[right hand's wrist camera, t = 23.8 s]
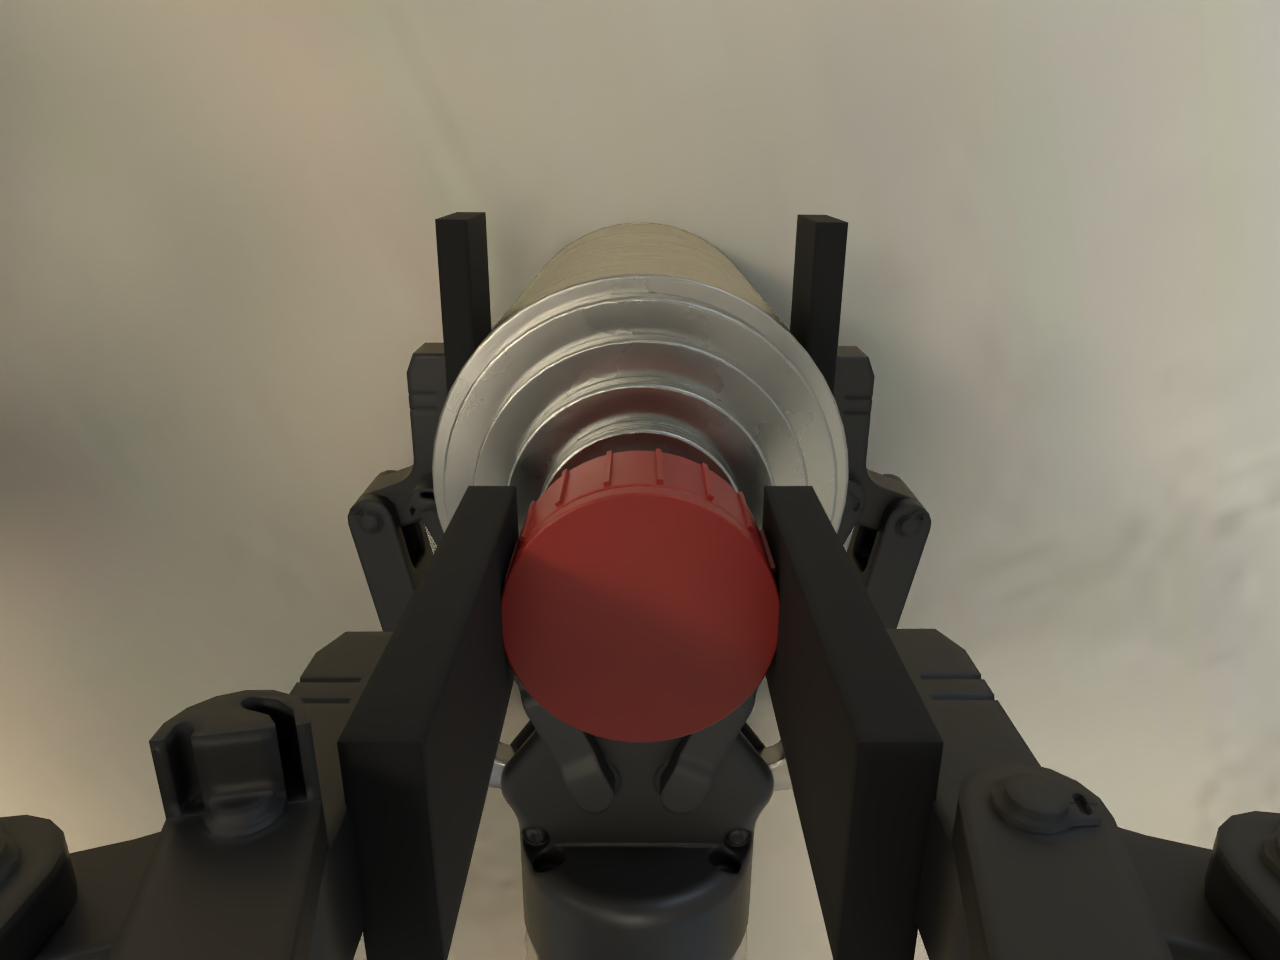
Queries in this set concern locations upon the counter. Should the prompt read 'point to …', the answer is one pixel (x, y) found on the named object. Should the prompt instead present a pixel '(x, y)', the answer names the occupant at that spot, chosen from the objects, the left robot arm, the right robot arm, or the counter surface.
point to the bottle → (640, 378)
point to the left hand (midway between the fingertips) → (641, 217)
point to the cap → (640, 598)
